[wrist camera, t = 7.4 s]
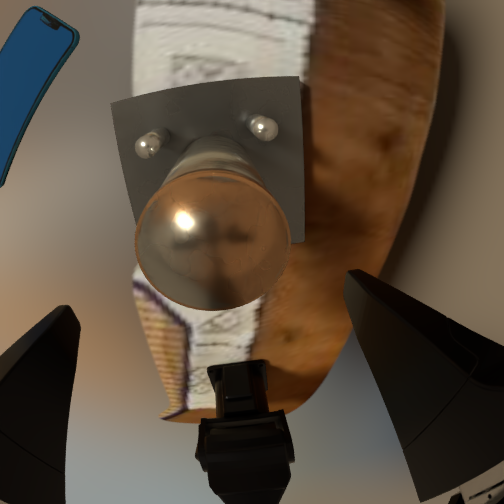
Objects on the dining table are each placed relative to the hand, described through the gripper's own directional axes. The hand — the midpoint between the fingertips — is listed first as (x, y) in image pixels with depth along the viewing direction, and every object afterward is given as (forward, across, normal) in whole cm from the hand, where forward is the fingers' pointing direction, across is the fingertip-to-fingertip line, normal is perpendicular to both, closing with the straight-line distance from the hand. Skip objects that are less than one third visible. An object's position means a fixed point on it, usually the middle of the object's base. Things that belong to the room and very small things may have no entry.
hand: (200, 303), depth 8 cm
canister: (+12, 0, -1) cm, 12 cm away
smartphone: (+13, +16, -11) cm, 23 cm away
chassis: (+13, 0, -1) cm, 13 cm away
